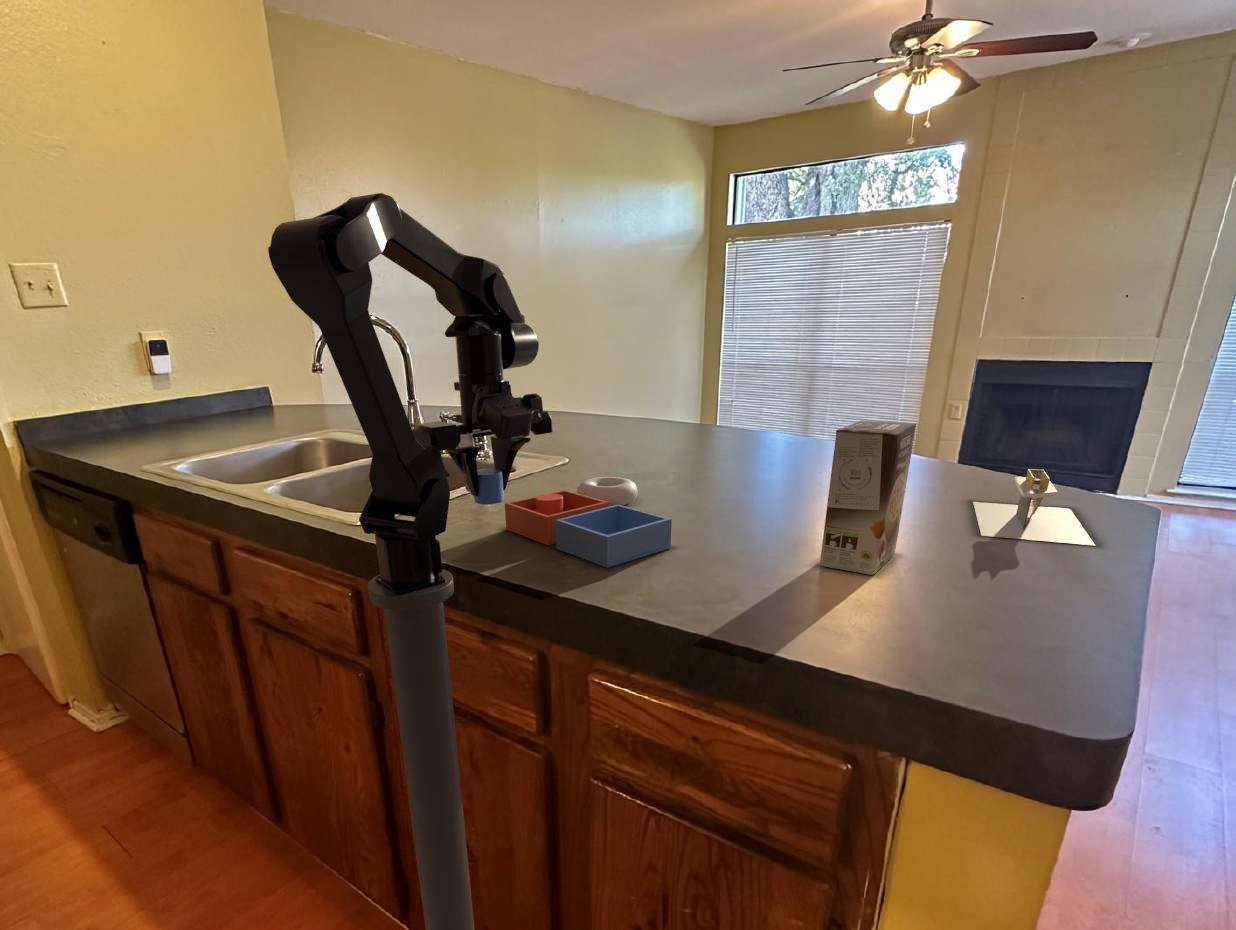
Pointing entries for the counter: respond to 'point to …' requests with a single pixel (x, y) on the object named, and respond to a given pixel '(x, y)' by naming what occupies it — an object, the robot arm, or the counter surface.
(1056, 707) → the counter surface
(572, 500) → the red bin
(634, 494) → the donut
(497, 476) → the blue handled mug
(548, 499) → the red cylinder with peg
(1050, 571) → the counter surface
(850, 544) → the coffee box
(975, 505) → the platform
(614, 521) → the blue bin
